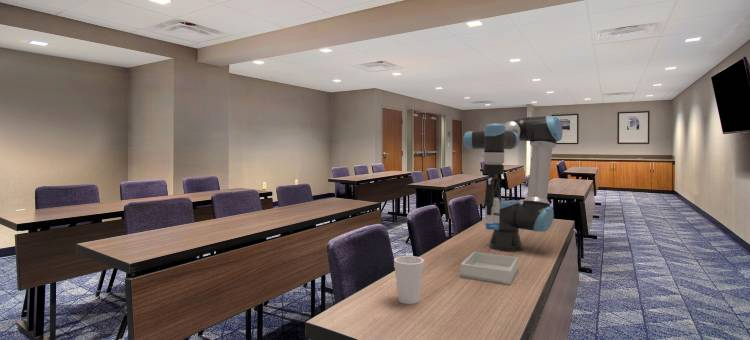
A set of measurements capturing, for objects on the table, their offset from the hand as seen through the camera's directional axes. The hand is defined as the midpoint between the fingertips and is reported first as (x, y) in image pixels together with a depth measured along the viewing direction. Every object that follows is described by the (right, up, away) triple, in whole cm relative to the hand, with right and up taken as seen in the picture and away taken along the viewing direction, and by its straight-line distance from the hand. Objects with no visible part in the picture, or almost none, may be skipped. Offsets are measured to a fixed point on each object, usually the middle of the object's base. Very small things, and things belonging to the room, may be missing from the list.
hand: (491, 221), depth 153 cm
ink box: (0, -3, 0) cm, 3 cm away
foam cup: (-35, -22, -27) cm, 49 cm away
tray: (-1, -20, 0) cm, 20 cm away
